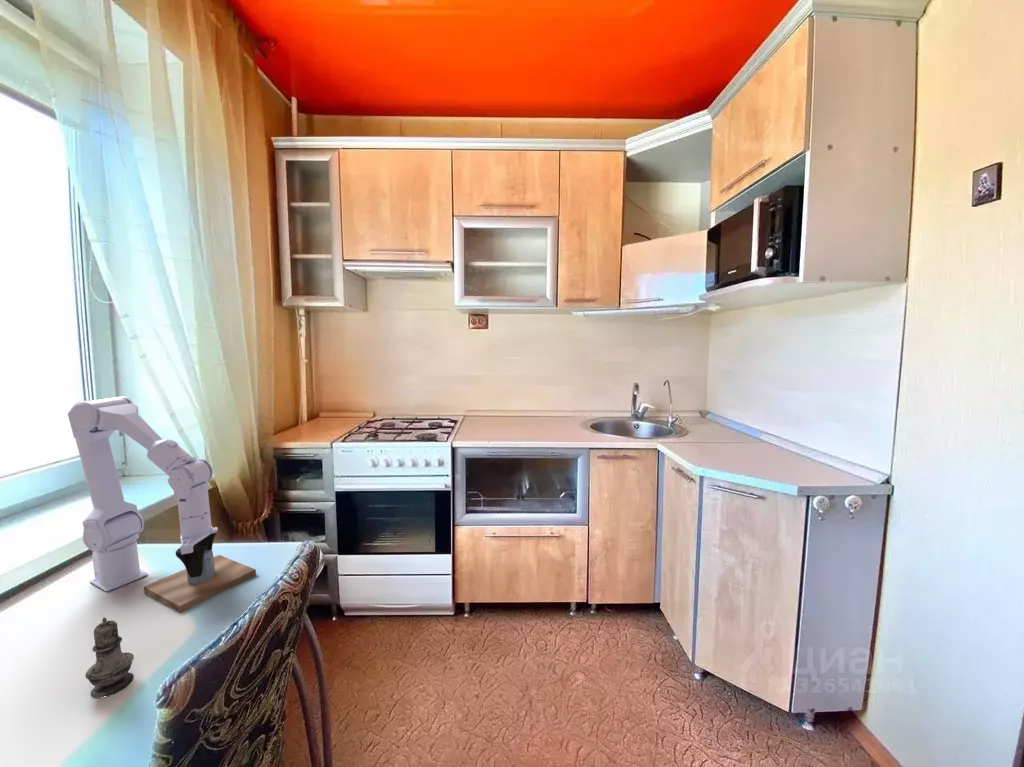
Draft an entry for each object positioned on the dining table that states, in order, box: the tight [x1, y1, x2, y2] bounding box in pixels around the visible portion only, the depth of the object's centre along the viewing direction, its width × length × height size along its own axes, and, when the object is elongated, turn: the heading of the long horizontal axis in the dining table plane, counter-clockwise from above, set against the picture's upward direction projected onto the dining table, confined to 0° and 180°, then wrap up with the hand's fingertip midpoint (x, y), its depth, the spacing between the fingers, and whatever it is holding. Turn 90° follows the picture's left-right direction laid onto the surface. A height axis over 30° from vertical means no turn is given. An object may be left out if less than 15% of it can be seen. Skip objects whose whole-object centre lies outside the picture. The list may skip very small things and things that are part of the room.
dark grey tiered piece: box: [84, 616, 135, 699], centre depth 70 cm, size 6×6×12 cm
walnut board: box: [143, 554, 257, 613], centre depth 100 cm, size 16×16×4 cm
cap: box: [186, 549, 215, 584], centre depth 100 cm, size 5×5×6 cm
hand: (200, 569), depth 100 cm, fingers open, 6 cm apart
